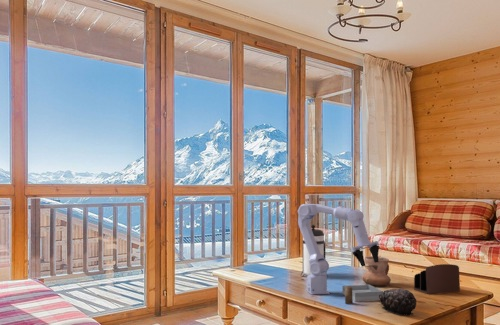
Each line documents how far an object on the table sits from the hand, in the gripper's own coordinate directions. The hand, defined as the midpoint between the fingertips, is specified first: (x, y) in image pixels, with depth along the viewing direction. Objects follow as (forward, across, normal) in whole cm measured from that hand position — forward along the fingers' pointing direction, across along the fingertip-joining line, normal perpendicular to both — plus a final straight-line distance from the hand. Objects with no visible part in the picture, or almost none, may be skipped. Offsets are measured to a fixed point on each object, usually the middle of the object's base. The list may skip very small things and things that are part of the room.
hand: (370, 264), depth 194 cm
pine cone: (+20, -4, -12) cm, 24 cm away
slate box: (+14, -2, +11) cm, 18 cm away
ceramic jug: (+13, +22, +30) cm, 40 cm away
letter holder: (+22, +40, +9) cm, 47 cm away
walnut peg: (+14, -14, +4) cm, 20 cm away
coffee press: (+2, +2, +60) cm, 60 cm away
